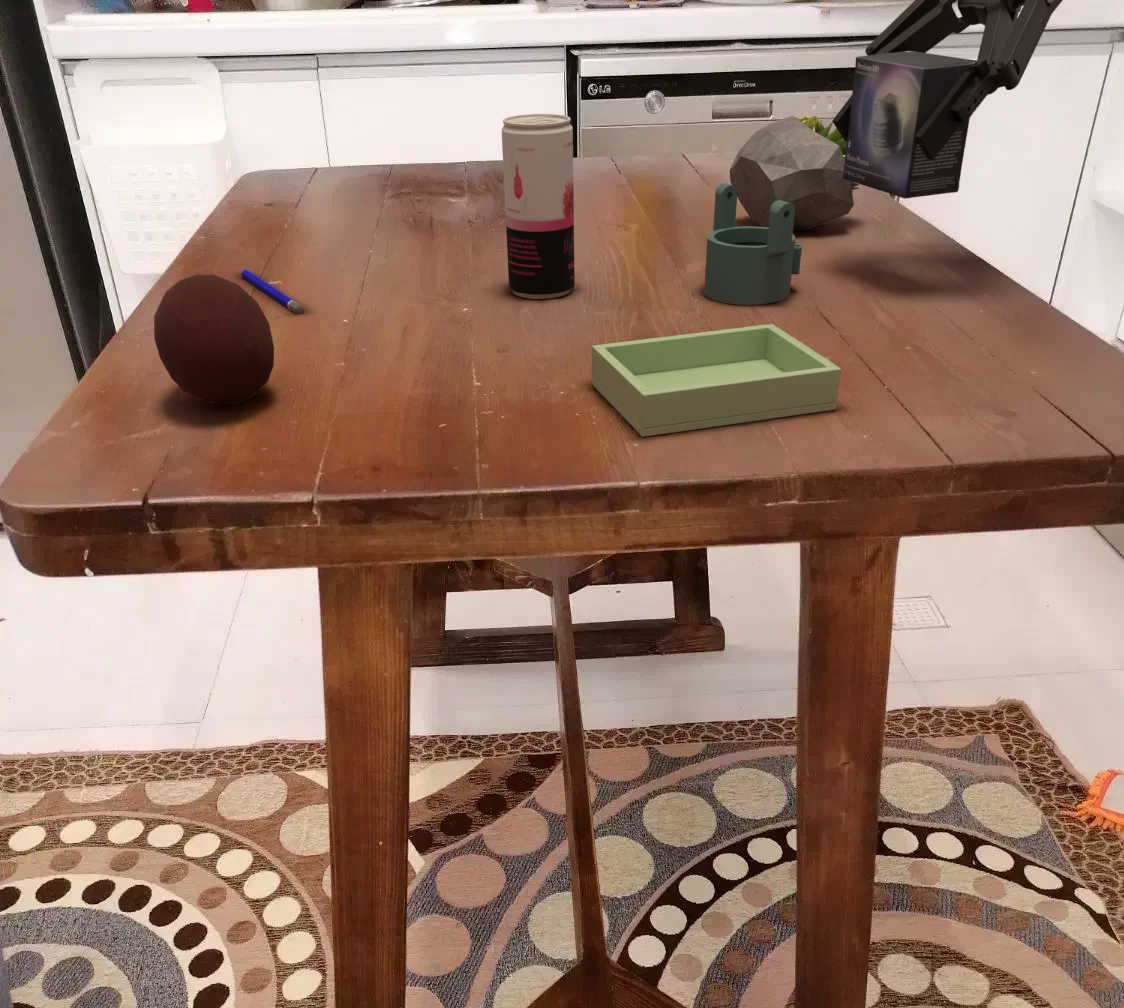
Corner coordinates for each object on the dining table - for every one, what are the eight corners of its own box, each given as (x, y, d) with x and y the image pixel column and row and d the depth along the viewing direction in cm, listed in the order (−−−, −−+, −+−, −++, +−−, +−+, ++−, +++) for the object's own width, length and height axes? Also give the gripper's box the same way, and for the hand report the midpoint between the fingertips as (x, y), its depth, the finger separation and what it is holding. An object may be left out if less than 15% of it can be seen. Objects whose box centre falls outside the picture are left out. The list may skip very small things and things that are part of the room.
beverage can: (588, 291, 109) (587, 118, 100) (536, 304, 106) (530, 127, 97) (547, 278, 113) (543, 111, 104) (496, 290, 110) (486, 119, 101)
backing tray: (836, 409, 83) (841, 368, 81) (642, 437, 79) (643, 394, 77) (769, 361, 91) (772, 323, 90) (591, 384, 88) (591, 345, 86)
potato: (176, 433, 82) (144, 304, 76) (166, 381, 91) (136, 262, 85) (293, 416, 84) (270, 289, 78) (271, 367, 93) (250, 250, 87)
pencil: (305, 315, 105) (304, 304, 105) (296, 317, 105) (295, 306, 104) (247, 276, 117) (246, 266, 116) (239, 278, 117) (237, 268, 116)
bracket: (781, 309, 103) (792, 205, 98) (688, 299, 106) (693, 197, 101) (804, 285, 110) (816, 186, 104) (716, 276, 113) (723, 179, 107)
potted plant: (719, 185, 131) (830, 137, 132) (766, 274, 130) (879, 225, 131) (734, 112, 120) (857, 60, 120) (787, 209, 118) (911, 156, 119)
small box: (837, 180, 108) (851, 54, 101) (893, 174, 109) (910, 49, 103) (901, 199, 100) (922, 64, 93) (961, 192, 102) (984, 59, 95)
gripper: (1169, -39, 91) (988, 189, 95) (968, -43, 108) (821, 151, 112) (1143, -119, 86) (954, 125, 90) (936, -110, 103) (784, 95, 107)
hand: (880, 140), depth 101 cm, fingers closed on small box, 11 cm apart
